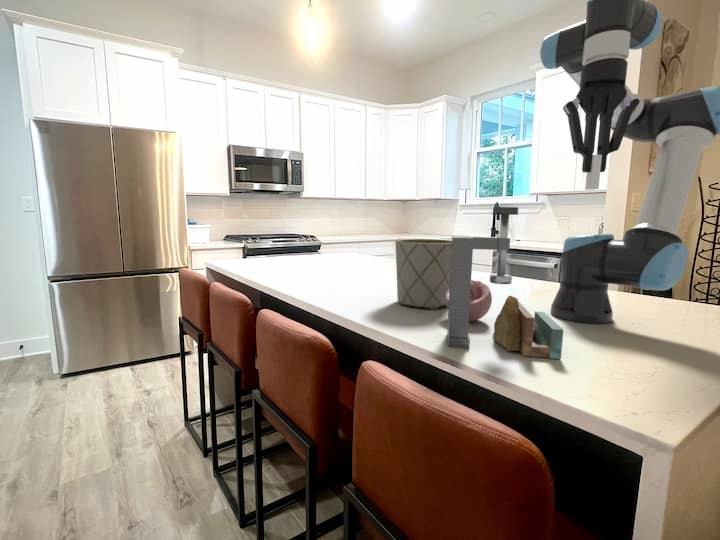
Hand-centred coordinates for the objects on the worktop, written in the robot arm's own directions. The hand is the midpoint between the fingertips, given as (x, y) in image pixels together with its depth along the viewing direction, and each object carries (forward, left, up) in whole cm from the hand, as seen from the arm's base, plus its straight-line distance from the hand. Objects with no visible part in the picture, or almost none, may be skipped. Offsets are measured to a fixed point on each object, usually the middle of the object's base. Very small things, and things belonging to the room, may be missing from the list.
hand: (591, 189), depth 76 cm
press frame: (+21, 0, -34) cm, 40 cm away
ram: (+16, 0, -20) cm, 26 cm away
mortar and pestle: (+21, -18, -34) cm, 44 cm away
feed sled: (+9, 0, -33) cm, 35 cm away
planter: (+33, -35, -34) cm, 59 cm away
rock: (+14, 0, -33) cm, 36 cm away
